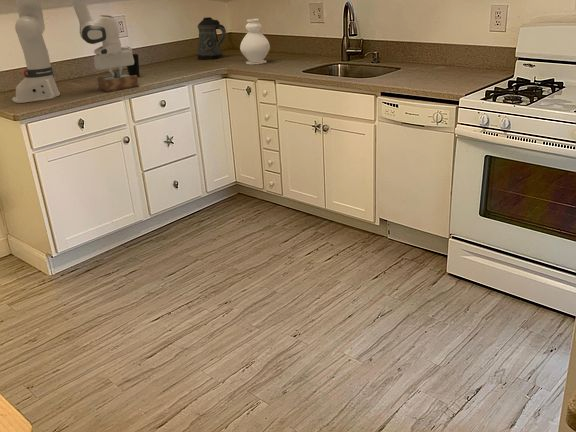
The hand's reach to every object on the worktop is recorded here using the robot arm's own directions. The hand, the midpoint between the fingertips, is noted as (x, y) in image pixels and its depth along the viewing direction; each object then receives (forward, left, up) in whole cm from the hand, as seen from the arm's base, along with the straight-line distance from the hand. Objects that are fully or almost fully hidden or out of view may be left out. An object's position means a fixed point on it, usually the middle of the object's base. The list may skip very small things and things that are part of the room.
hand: (116, 76), depth 306 cm
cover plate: (0, 0, -2) cm, 2 cm away
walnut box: (0, 0, -6) cm, 6 cm away
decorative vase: (+90, +3, -6) cm, 90 cm away
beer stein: (+84, +44, -6) cm, 95 cm away
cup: (+20, +24, -6) cm, 32 cm away
